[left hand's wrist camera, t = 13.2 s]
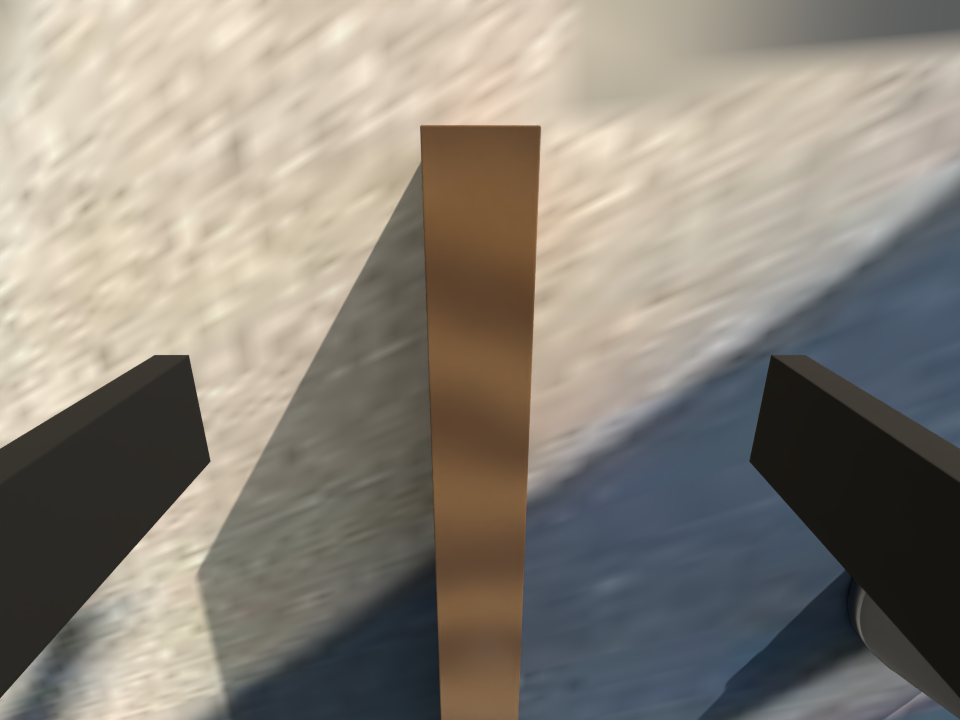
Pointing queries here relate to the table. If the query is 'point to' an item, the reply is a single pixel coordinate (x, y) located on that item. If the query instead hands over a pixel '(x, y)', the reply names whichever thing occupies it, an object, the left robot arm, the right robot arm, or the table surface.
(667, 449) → the table surface
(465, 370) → the bar
